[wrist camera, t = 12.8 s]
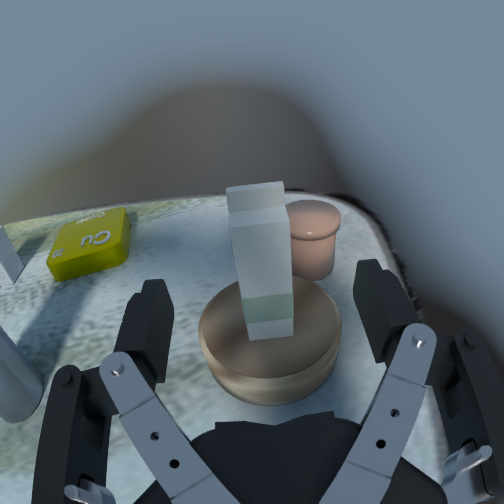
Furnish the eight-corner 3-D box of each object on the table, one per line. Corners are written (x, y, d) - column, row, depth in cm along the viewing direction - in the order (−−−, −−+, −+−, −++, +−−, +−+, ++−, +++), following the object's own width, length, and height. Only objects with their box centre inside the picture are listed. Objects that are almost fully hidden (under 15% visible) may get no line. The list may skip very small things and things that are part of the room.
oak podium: (182, 355, 33) (169, 326, 30) (265, 286, 40) (262, 256, 37) (280, 432, 24) (278, 411, 21) (360, 335, 32) (367, 304, 29)
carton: (249, 341, 27) (224, 207, 19) (246, 301, 32) (225, 176, 24) (294, 335, 27) (289, 199, 19) (286, 297, 31) (278, 170, 23)
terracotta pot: (268, 269, 43) (263, 219, 38) (302, 241, 48) (300, 194, 43) (317, 292, 38) (318, 239, 34) (347, 259, 43) (351, 210, 38)
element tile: (132, 222, 60) (125, 202, 57) (128, 265, 48) (118, 241, 45) (69, 241, 58) (60, 222, 55) (53, 286, 46) (41, 264, 43)
